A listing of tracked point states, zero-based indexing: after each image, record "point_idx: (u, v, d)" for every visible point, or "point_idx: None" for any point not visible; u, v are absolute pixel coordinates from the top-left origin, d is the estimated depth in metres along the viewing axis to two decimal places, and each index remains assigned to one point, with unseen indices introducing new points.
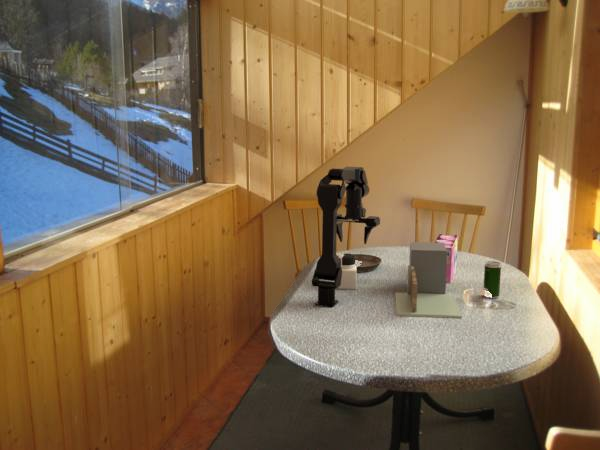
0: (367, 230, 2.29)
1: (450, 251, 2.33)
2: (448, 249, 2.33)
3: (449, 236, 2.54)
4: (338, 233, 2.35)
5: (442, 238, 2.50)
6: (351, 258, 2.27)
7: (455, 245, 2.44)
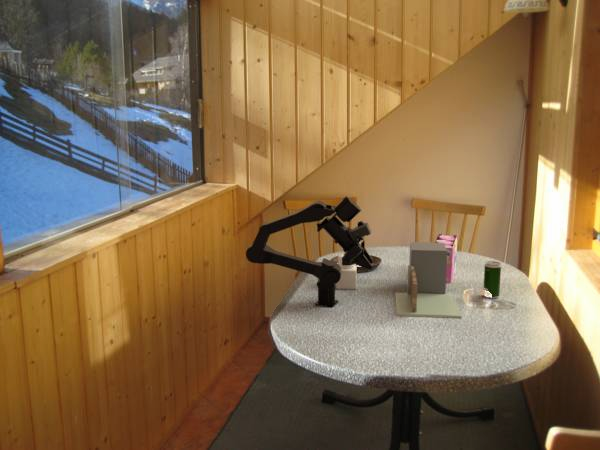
0: None
1: (451, 251, 2.33)
2: (449, 249, 2.33)
3: (448, 236, 2.54)
4: None
5: (442, 238, 2.50)
6: None
7: (455, 245, 2.44)
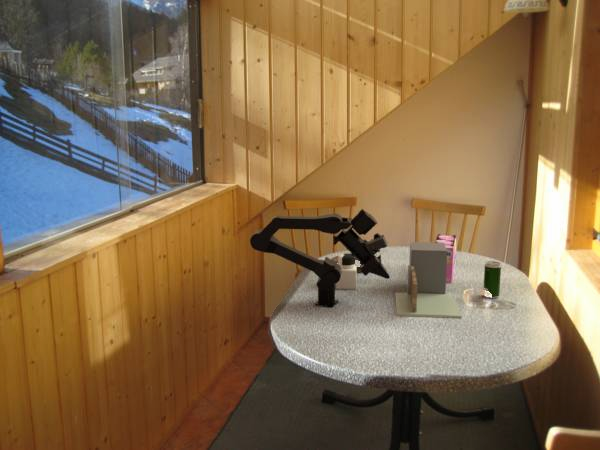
0: None
1: (451, 251, 2.32)
2: (449, 249, 2.32)
3: (448, 236, 2.54)
4: None
5: (441, 238, 2.50)
6: (351, 258, 2.27)
7: (455, 245, 2.44)
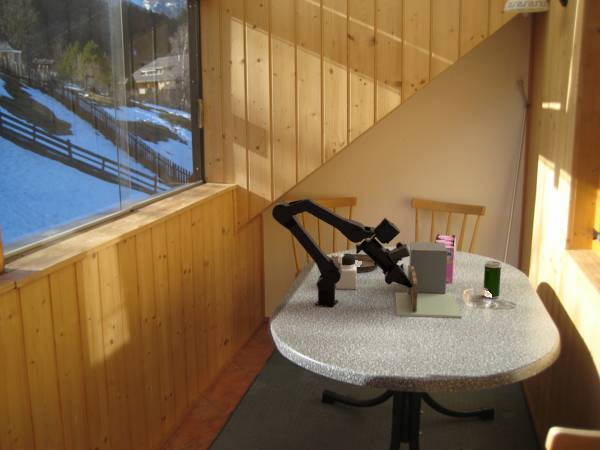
0: None
1: (452, 251, 2.32)
2: (450, 249, 2.32)
3: (447, 236, 2.54)
4: None
5: (441, 238, 2.50)
6: (351, 258, 2.27)
7: None
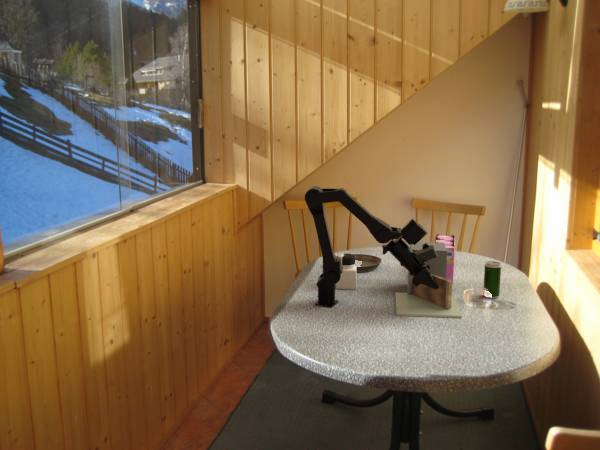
0: None
1: (453, 251, 2.32)
2: (451, 249, 2.32)
3: (446, 236, 2.54)
4: None
5: (440, 238, 2.50)
6: (351, 258, 2.27)
7: (454, 245, 2.44)
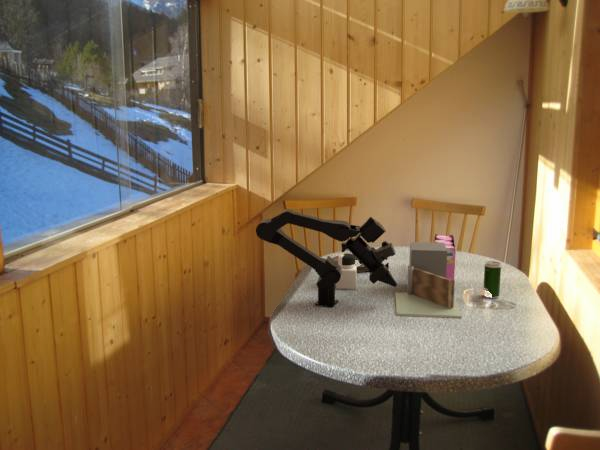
0: None
1: (454, 251, 2.32)
2: (452, 249, 2.32)
3: (445, 236, 2.54)
4: None
5: (439, 238, 2.50)
6: (351, 258, 2.27)
7: (454, 245, 2.44)
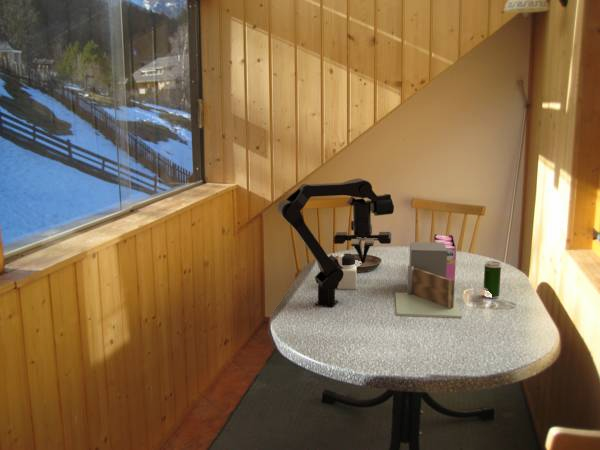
0: (367, 248, 2.09)
1: (454, 251, 2.32)
2: (452, 249, 2.32)
3: (444, 236, 2.54)
4: (360, 254, 2.11)
5: (439, 238, 2.50)
6: (351, 258, 2.27)
7: (454, 245, 2.44)
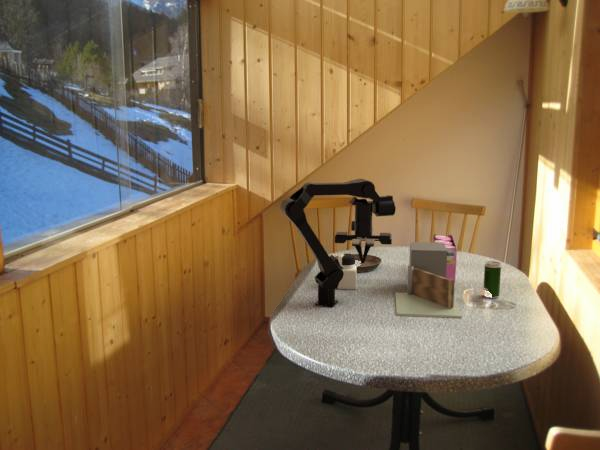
0: (368, 248, 2.09)
1: (455, 251, 2.32)
2: (453, 249, 2.32)
3: (443, 236, 2.54)
4: (360, 254, 2.11)
5: (438, 238, 2.50)
6: (351, 258, 2.27)
7: None
